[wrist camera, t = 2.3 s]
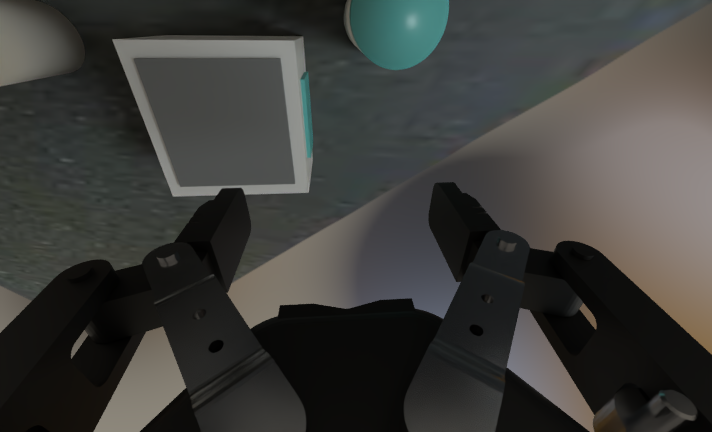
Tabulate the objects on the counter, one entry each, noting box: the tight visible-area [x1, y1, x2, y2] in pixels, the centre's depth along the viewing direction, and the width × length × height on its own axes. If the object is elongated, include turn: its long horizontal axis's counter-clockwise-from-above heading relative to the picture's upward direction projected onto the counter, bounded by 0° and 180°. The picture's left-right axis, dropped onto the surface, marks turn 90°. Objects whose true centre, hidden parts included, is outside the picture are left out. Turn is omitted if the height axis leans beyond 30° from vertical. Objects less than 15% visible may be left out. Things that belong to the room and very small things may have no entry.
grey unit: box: [112, 35, 313, 196], centre depth 24 cm, size 11×11×7 cm
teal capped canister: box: [343, 0, 449, 70], centre depth 19 cm, size 5×5×11 cm
